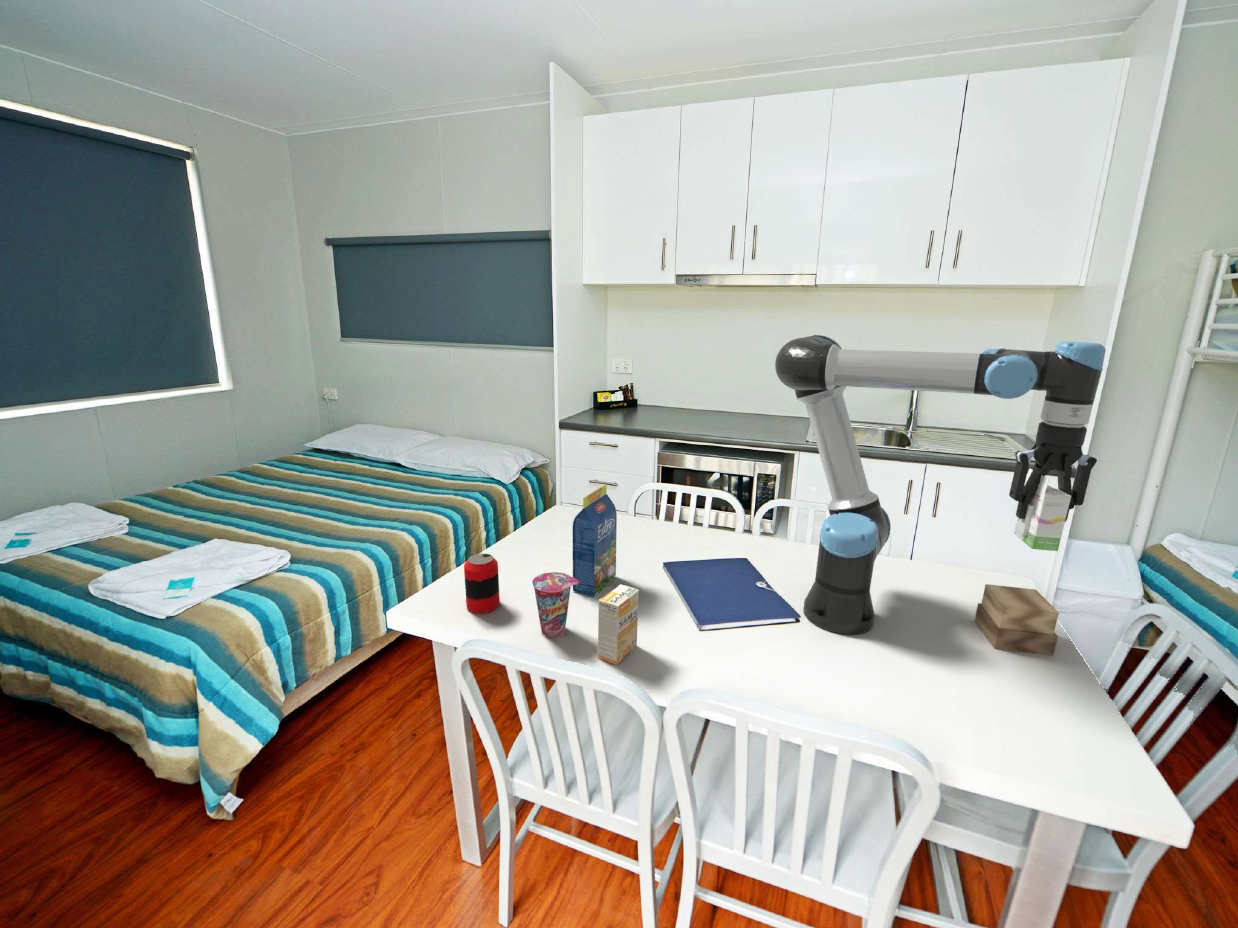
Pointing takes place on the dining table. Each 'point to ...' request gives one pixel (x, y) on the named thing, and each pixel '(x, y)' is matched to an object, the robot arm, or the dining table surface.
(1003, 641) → the base slab
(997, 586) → the top slab
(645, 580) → the dining table surface
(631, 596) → the supplement box
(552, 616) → the cup
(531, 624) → the dining table surface
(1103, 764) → the dining table surface
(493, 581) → the soda can
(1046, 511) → the ink box
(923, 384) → the robot arm
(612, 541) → the blue food package
